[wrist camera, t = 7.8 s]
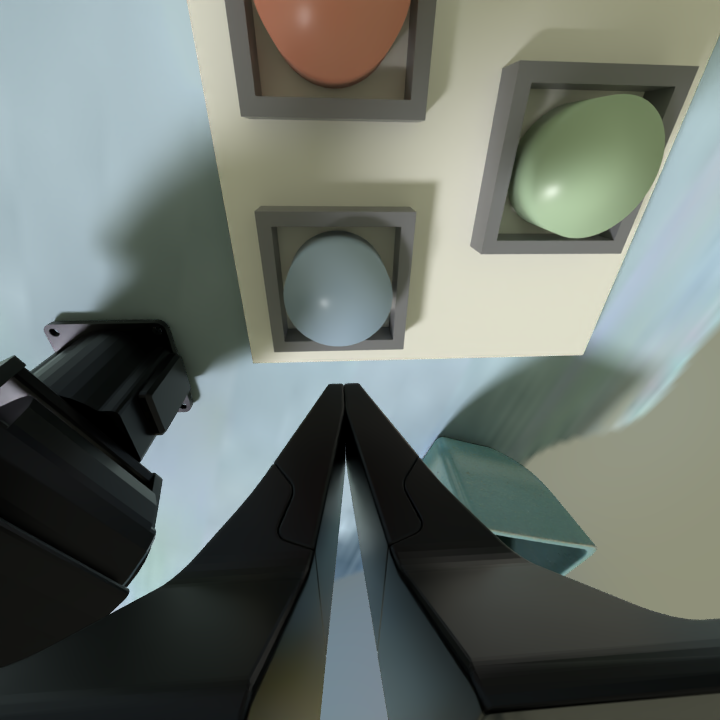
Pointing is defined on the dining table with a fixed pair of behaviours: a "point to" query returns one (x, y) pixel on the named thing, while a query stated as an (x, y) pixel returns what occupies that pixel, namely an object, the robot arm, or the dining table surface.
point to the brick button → (333, 36)
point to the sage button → (587, 164)
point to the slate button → (337, 289)
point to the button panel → (435, 165)
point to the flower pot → (511, 504)
